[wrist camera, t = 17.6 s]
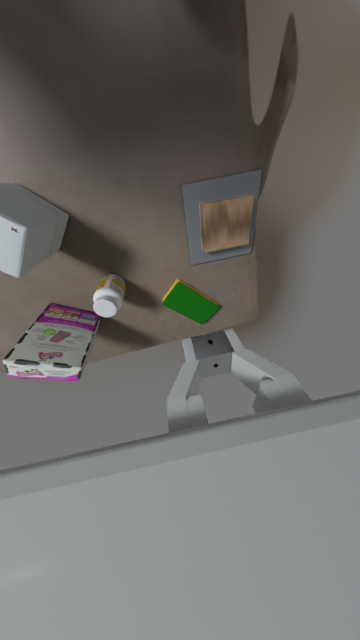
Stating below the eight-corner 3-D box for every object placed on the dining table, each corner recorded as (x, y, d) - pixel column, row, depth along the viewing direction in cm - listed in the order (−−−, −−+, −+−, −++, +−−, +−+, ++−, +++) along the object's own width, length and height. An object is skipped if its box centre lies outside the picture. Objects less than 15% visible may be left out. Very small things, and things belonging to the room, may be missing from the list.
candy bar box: (50, 318, 40) (5, 377, 27) (50, 301, 37) (-1, 359, 25) (99, 327, 44) (79, 383, 31) (102, 313, 41) (81, 368, 29)
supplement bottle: (103, 294, 38) (92, 320, 31) (99, 272, 35) (85, 295, 27) (127, 295, 39) (121, 320, 32) (125, 274, 36) (118, 296, 28)
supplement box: (16, 181, 25) (-71, 176, 15) (70, 215, 28) (29, 229, 18) (10, 226, 28) (-65, 246, 18) (59, 251, 31) (19, 280, 22)
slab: (202, 204, 27) (254, 194, 27) (199, 203, 29) (247, 194, 29) (204, 252, 32) (248, 244, 33) (201, 249, 34) (242, 240, 35)
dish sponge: (177, 277, 38) (178, 281, 37) (217, 302, 45) (220, 307, 43) (161, 299, 42) (161, 304, 40) (200, 319, 48) (202, 325, 46)
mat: (181, 185, 28) (181, 185, 27) (260, 169, 28) (262, 169, 27) (190, 264, 37) (190, 265, 36) (250, 252, 37) (251, 252, 36)
